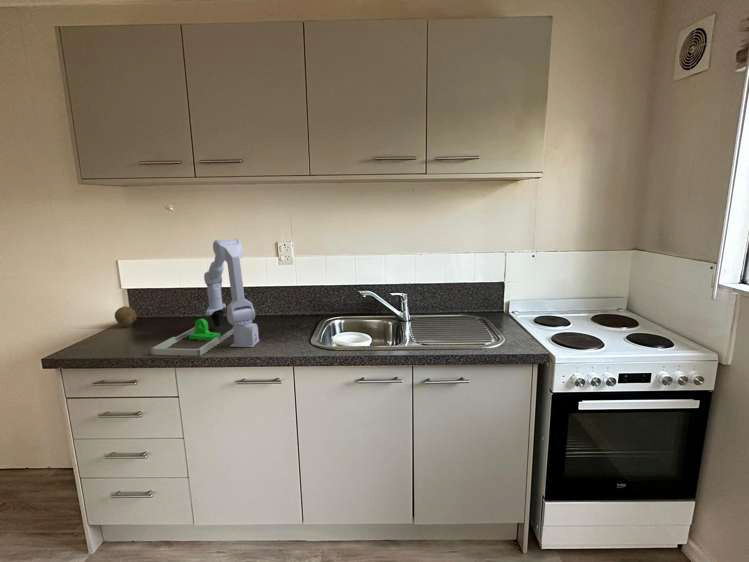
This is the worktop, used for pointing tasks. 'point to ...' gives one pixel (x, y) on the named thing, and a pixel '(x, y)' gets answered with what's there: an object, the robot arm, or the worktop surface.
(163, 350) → the tray
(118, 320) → the natural sponge
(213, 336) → the mechanical part
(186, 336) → the slot rails
